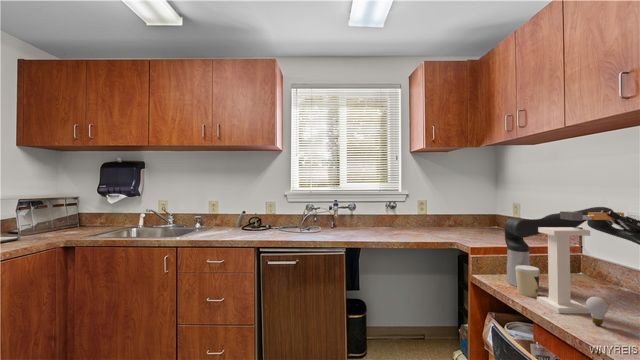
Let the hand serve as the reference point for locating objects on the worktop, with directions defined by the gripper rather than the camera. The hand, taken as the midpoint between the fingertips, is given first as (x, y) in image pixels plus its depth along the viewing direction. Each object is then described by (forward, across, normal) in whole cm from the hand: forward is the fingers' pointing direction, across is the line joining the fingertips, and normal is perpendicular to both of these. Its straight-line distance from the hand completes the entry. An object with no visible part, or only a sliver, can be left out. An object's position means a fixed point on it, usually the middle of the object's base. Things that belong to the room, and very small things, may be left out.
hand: (605, 212), depth 123 cm
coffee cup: (0, -15, +45) cm, 47 cm away
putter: (+3, 0, +5) cm, 6 cm away
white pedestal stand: (-4, 0, +42) cm, 42 cm away
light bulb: (-4, +16, +43) cm, 46 cm away
